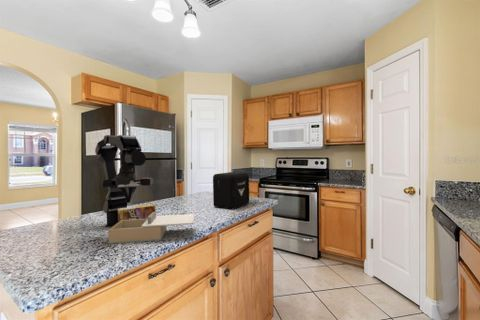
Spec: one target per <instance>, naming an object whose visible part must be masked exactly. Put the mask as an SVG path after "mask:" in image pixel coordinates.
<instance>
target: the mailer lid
mask: <svg viewBox="0 0 480 320" xmlns="http://www.w3.org/2000/svg"><path fill="white" fill-rule="evenodd" d="M195 216H196V215H195V213H189V214H171V215H157V211H155V212H152V213H151V214H150V215H149V216H148V217H147V218H148V219H147V220H146V221H145V222H144V224H143V225H142V226H141V227H154V226H167V227H169V226H182V225H183V226H186V225H194V221H195Z"/></svg>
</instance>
